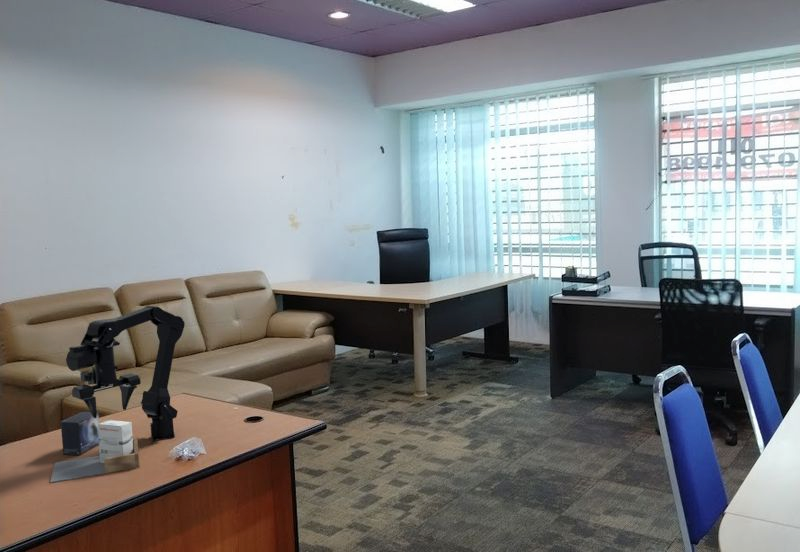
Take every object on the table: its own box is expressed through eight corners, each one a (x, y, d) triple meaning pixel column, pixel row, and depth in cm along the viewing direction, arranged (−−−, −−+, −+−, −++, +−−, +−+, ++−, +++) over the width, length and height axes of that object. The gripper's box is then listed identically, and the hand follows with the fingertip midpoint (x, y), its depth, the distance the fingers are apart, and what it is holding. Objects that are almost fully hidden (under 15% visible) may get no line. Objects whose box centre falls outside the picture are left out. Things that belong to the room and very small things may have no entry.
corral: (138, 450, 217) (137, 438, 217) (139, 467, 203) (138, 453, 203) (106, 456, 214) (105, 443, 214) (105, 473, 200) (104, 459, 200)
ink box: (134, 460, 209) (133, 421, 208) (123, 466, 205) (121, 426, 203) (110, 457, 212) (109, 418, 211) (99, 463, 207) (97, 423, 206)
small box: (81, 455, 216) (77, 422, 214) (62, 455, 217) (58, 421, 216) (102, 443, 226) (99, 411, 225) (84, 443, 227) (81, 411, 226)
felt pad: (106, 455, 215) (106, 454, 215) (105, 473, 200) (105, 472, 200) (55, 463, 210) (55, 462, 210) (50, 483, 195) (50, 482, 195)
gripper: (120, 353, 224) (125, 401, 226) (60, 366, 210) (66, 417, 212) (139, 357, 216) (144, 407, 218) (78, 371, 202) (84, 424, 204)
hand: (109, 413), depth 213 cm, fingers open, 9 cm apart
